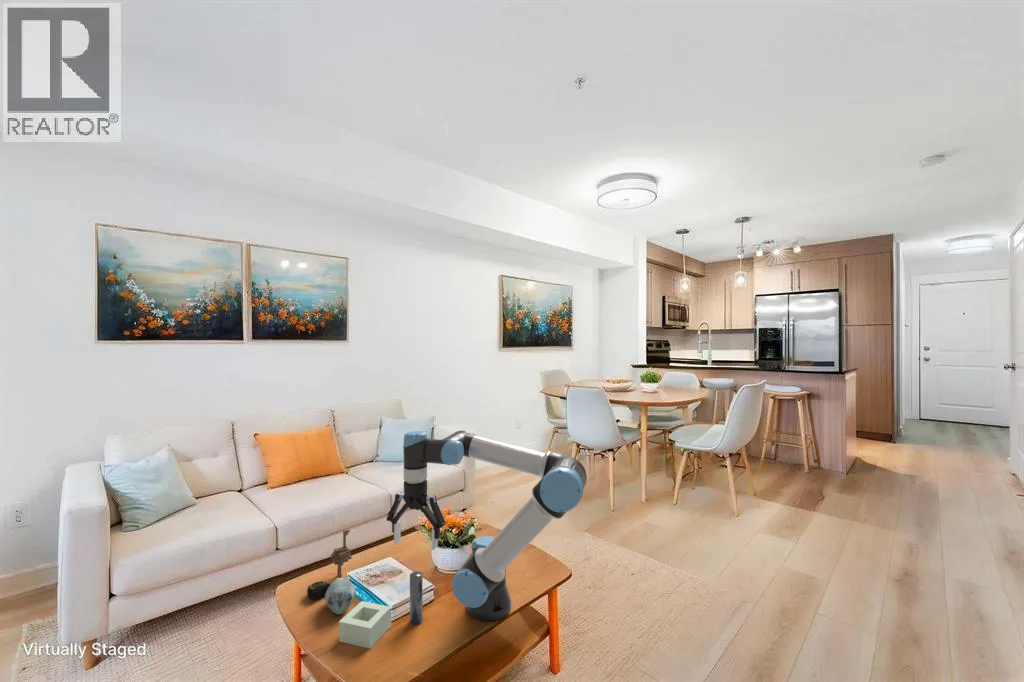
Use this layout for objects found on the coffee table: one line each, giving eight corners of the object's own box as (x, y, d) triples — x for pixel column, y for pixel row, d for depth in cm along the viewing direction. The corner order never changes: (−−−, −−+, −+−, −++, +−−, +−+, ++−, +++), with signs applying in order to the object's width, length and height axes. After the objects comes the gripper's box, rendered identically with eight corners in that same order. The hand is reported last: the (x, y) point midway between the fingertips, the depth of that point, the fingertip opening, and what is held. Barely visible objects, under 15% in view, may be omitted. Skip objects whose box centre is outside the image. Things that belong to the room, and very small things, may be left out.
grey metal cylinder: (424, 618, 145) (424, 572, 145) (418, 625, 141) (418, 578, 141) (413, 616, 146) (413, 570, 146) (407, 623, 142) (407, 576, 142)
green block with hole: (391, 625, 141) (391, 606, 141) (370, 648, 130) (370, 628, 130) (361, 619, 144) (361, 601, 144) (339, 641, 134) (339, 621, 134)
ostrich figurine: (348, 572, 174) (348, 526, 174) (352, 580, 168) (352, 532, 168) (301, 584, 165) (301, 536, 165) (303, 593, 159) (303, 543, 160)
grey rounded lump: (355, 612, 144) (355, 578, 148) (323, 618, 141) (324, 583, 144) (354, 605, 156) (354, 574, 160) (325, 611, 153) (326, 579, 156)
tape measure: (314, 602, 152) (313, 591, 153) (303, 597, 156) (303, 586, 157) (332, 593, 158) (331, 583, 158) (321, 589, 162) (321, 578, 162)
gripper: (455, 479, 143) (455, 545, 143) (388, 473, 151) (388, 535, 151) (445, 486, 136) (445, 555, 136) (375, 480, 144) (375, 545, 144)
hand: (415, 545), depth 143 cm, fingers open, 13 cm apart
